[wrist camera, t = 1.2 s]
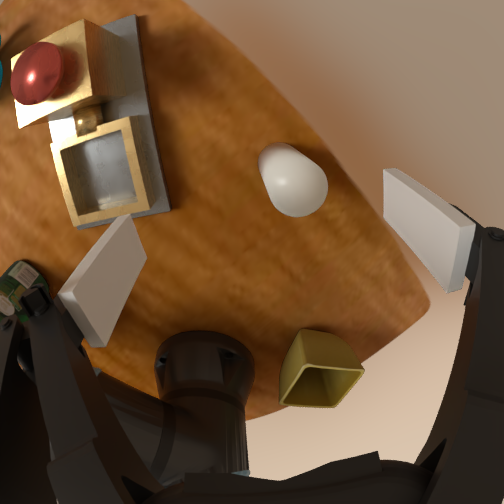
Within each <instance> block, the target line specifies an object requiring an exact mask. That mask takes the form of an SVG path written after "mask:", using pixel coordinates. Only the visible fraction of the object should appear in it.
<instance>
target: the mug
mask: <svg viewBox="0 0 504 504" xmlns="http://www.w3.org/2000/svg"><path fill="white" fill-rule="evenodd" d="M0 45H1V35H0ZM2 75H3V68H2V64H1V60H0V87H1V82H2Z"/></svg>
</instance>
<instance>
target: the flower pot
mask: <svg viewBox="0 0 504 504" xmlns="http://www.w3.org/2000/svg"><path fill="white" fill-rule="evenodd" d="M364 371H365V370H364V368H363V366H362V365H361V363H360V361H359V360H358V358H357V356H356V355H355V353H354V352H353V350H352V348H351V347H350V346H349V345H348V344H347V343H346V342H345V341H344V340H342V339H341V338H339V337H338V336H336V335H333V334H331V333H327V332H321V331H315V330H309V329H300V330H299V332H298V334H297V335H296V337H295V339H294V341H293V343H292V345H291V347H290V348H289V350H288V352H287V354H286V356H285V358H284V361H283V363H282V366H281V370H280V376H279V404H280V405H285V406H297V407H314V408H334V407H336V406H337V405H338V404H339V403H340V402H341V401H342V399H343V398H344V397H345V396H346V395H347V393H348V392H349V391H350V390H351V388H352V387H353V386H354V385H355V384H356V383H357V381H358V380H359V379H360V378H361V376H362V375H363V373H364Z"/></svg>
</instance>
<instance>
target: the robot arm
mask: <svg viewBox="0 0 504 504" xmlns="http://www.w3.org/2000/svg"><path fill="white" fill-rule="evenodd" d="M383 183H384V184H383V185H384V215H383V217H384V219H385V220H386V221H387V223H388V224H389V225H390V226H391V227H392V228H393V229H394V230H395V231H396V232H397V233H398V235H399V236H400V237H401V238H402V239H403V240H404V241H405V243H406V244H407V245H408V246H409V247H410V248H411V250H412V251H413V252H414V253H415V254H416V256H417V257H418V258H419V259H420V260H421V261H422V263H423V264H424V265H425V266H426V268H427V269H428V270H429V271H430V273H431V274H432V275H433V276H434V278H435V279H436V280H437V281H438V283H439V284H440V285H441V287H442V288H443V289H444V291H445V292H446V293H450V292H454V291H457V290H460V289H462V286H463V282H464V278H465V276H466V277H467V278H468V279H469V280H470V285H469V289H468V292H467V295H466V299H465V302H464V305H465V306H466V307H465V314H464V319H463V324H462V329H461V334H460V339H459V343H458V348H457V352H456V356H455V360H454V364H453V368H452V371H451V374H450V378H449V381H448V385H447V388H446V391H445V394H444V397H443V400H442V403H441V406H440V409H439V412H438V414H437V417H436V420H435V423H434V425H433V428H432V430H431V433H430V435H429V437H428V440H427V442H426V444H425V446H424V447H423V449H422V451H421V452H420V454H419V456H418V457H417V459H416V461H415V463H414V464H412V463H408V462H403V461H397V460H380V459H379V454H378V451H375V452H372V453H368V454H364V455H360V456H356V457H351V458H348V459H343V460H338V461H333V462H330V463H327V464H325V465H322V466H320V467H318V468H315V469H313V470H311V471H308V472H305V473H302V474H300V475H297V476H294V477H291V478H289V479H286V480H281V481H275V480H268V479H261V478H254V477H249V475H250V471H249V463H248V450H247V438H246V423H245V405H246V402H247V399H248V396H249V393H250V390H251V388H252V385H253V382H254V376H255V370H254V361H253V357H252V355H251V353H250V352H249V351H248V349H247V348H246V347H245V346H244V345H242V344H241V343H240V342H238V341H237V340H235V339H233V338H231V337H229V336H226V335H223V334H220V333H215V332H209V331H190V332H184V333H180V334H177V335H174V336H172V337H170V338H169V339H167V340H166V341H165V342H163V343H162V345H161V346H160V347H159V349H158V351H157V355H156V359H155V364H154V372H155V377H156V383H157V388H158V393H159V398H160V399H158V398H156V397H153V396H151V395H149V394H147V393H144V392H142V391H140V390H138V389H136V388H134V387H132V386H130V385H128V384H126V383H124V382H122V381H120V380H118V379H116V378H114V377H112V376H110V375H108V374H106V373H104V372H102V371H101V369H99V368H94V367H92V365H91V362H90V360H89V358H88V355H87V353H86V350H85V349H84V347H83V346H82V345H81V342H82V340H83V338H84V337H85V339H86V340H87V342H88V343H89V345H90V346H91V347H106V346H107V343H108V341H109V338H110V336H111V334H112V331H113V329H114V327H115V325H116V322H117V320H118V318H119V316H120V313H121V311H122V309H123V307H124V305H125V302H126V300H127V298H128V296H129V294H130V292H131V290H132V288H133V285H134V283H135V281H136V279H137V277H138V275H139V273H140V271H141V269H142V267H143V265H144V263H145V261H146V259H147V257H146V254H145V252H144V249H143V247H142V244H141V241H140V239H139V236H138V233H137V231H136V228H135V225H134V223H133V220H132V217H131V214H127V215H123V216H119V217H117V218H116V220H115V221H114V222H113V223H112V224H111V225H110V227H109V228H108V229H107V230H106V231H105V232H104V234H103V235H102V236H101V237H100V239H99V240H98V241H97V242H96V243H95V245H94V246H93V247H92V248H91V250H90V251H89V252H88V253H87V255H86V256H85V257H84V258H83V260H82V261H81V262H80V264H79V265H78V266H77V268H76V269H75V270H74V272H73V273H72V274H71V276H70V277H69V278H68V280H67V281H66V282H65V284H64V285H63V287H62V288H61V289H60V291H59V292H58V294H57V295H56V297H55V298H54V299H53V300H52V298H51V297H50V295H49V293H48V292H47V290H46V288H45V286H44V285H43V283H38V284H35V285H33V286H31V287H29V288H28V289H27V290H25V291H24V292H23V293H22V294H21V296H20V297H19V300H18V302H19V304H20V305H21V307H22V309H23V310H24V312H25V313H26V315H27V316H28V318H29V320H28V321H25V322H23V323H21V321H20V320H19V318H18V317H17V315H16V314H12V315H9V316H8V317H5V318H4V319H2V320H1V322H0V504H502V501H503V498H504V230H502V229H499V228H496V227H486V228H484V227H482V226H481V225H480V224H479V223H477V222H476V221H475V220H474V219H472V218H471V217H469V216H468V215H467V214H466V213H464V212H463V211H462V210H461V209H459V208H458V207H456V206H454V205H452V204H449V203H447V202H446V201H445V200H443V199H442V198H440V197H439V196H438V195H436V194H434V193H433V192H432V191H431V190H429V189H428V188H426V187H424V186H423V185H422V184H420V183H419V182H417V181H416V180H414V179H413V178H411V177H410V176H408V175H406V174H405V173H403V172H402V171H400V170H398V169H397V168H390V169H383ZM18 362H19V364H20V365H21V366H22V367H23V370H22V369H21V367H20V366H19V364H18Z"/></svg>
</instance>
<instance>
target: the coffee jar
mask: <svg viewBox="0 0 504 504" xmlns="http://www.w3.org/2000/svg"><path fill="white" fill-rule="evenodd" d="M38 283H43V285H44V286H45V288H46V290H47V292H48V293H49V287H48V285H47V283H46V281H45V279H44V278H43V277H42V275H41V274H40V273H39V271H37V270H36V269H35V268H34V267H33V266H32V265H30V264H28V263H26V262H24V261H21V260H19V261H16V262H14V263H13V264H12V265H11V266H10V267H9V268H8V269H7V270H6V272H5V273H4V274H3V275H2V276H1V277H0V322H1V320H2V319H4V318H5V317H8V316H9V315H12V314H16V315H17V317H18V318H19V320H20V321H21V323H23V322H25V321H28V320H29V318H28V316H27V315H26V313H25V312H24V310H23V309H22V307H21V305H20V304H19V302H18V300H19V297H20V296H21V294H22V293H23V292H24V291H25V290H27V289H28V288H29V287H31V286H33V285H35V284H38Z"/></svg>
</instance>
